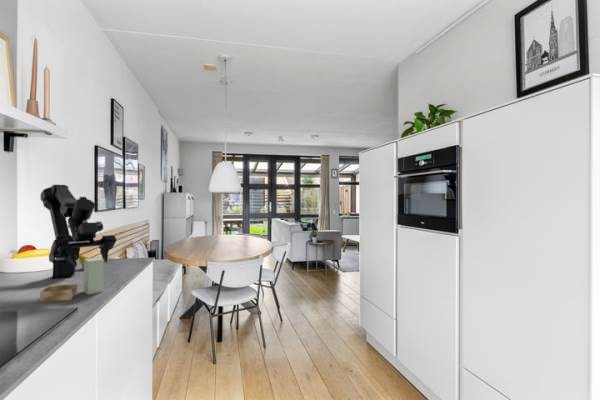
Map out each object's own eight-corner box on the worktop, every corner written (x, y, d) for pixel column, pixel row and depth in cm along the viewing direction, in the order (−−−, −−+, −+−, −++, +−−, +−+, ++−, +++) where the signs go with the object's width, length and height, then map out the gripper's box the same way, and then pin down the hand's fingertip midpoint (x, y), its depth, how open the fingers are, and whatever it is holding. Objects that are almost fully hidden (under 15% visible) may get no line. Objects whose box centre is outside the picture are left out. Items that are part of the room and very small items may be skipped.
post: (88, 294, 105) (89, 261, 105) (83, 291, 108) (83, 259, 108) (102, 291, 109) (103, 259, 108) (97, 289, 111) (98, 257, 111)
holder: (40, 302, 96) (40, 292, 96) (48, 294, 104) (48, 285, 104) (71, 299, 100) (71, 290, 100) (77, 292, 107) (77, 283, 107)
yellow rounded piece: (89, 271, 137) (70, 255, 136) (88, 274, 141) (69, 259, 139) (100, 262, 141) (81, 247, 139) (98, 265, 145) (80, 250, 143)
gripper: (54, 214, 105) (65, 252, 98) (114, 213, 120) (127, 246, 113) (46, 236, 110) (56, 273, 103) (105, 232, 125) (117, 265, 118)
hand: (91, 263), depth 109 cm, fingers open, 9 cm apart
